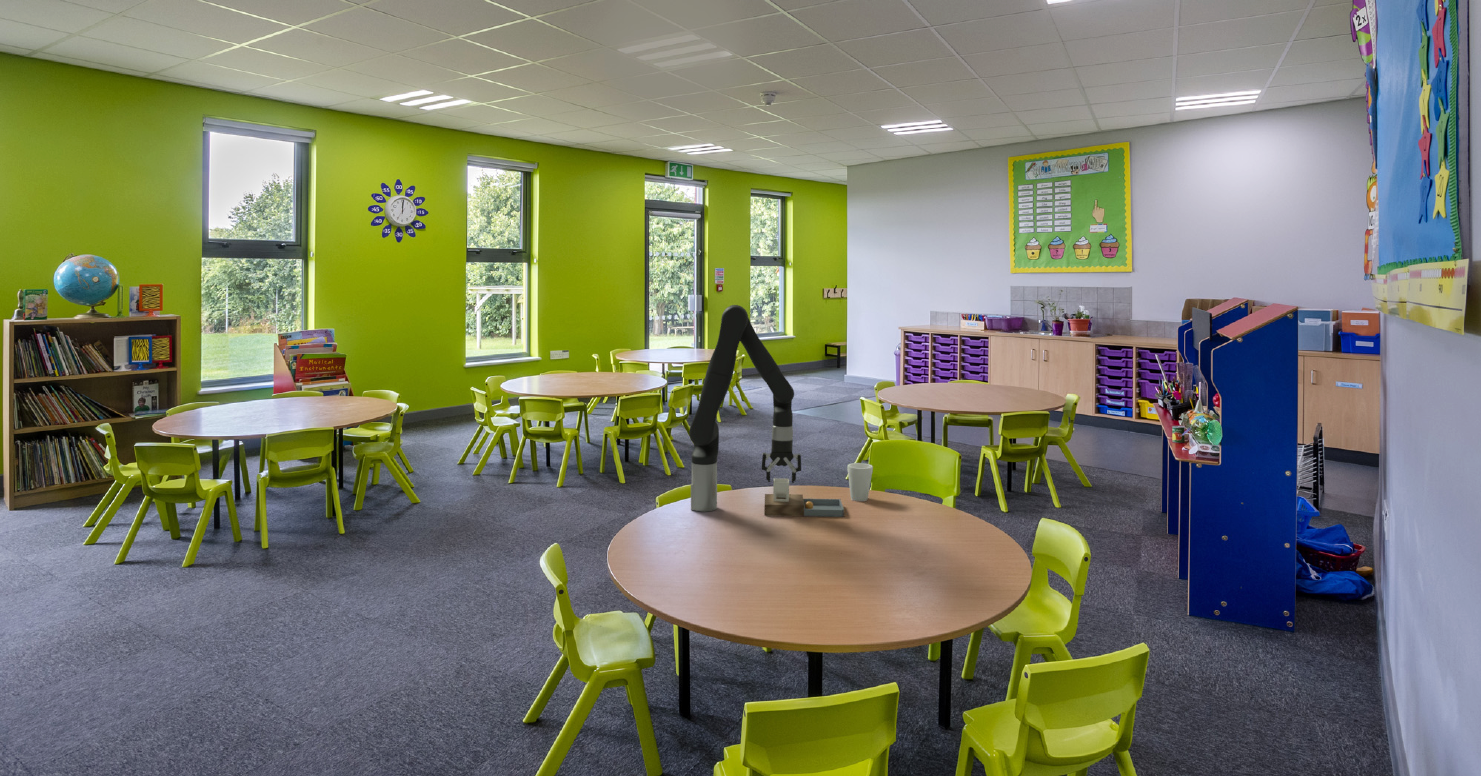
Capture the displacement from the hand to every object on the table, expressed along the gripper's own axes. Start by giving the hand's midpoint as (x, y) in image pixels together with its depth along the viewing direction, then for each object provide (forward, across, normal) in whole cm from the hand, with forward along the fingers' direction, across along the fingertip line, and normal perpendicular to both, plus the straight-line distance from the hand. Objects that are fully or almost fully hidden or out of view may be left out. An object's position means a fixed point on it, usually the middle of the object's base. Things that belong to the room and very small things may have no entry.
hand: (780, 481), depth 281 cm
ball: (+8, +10, 0) cm, 13 cm away
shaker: (+6, 0, 0) cm, 6 cm away
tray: (+10, +15, 0) cm, 18 cm away
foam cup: (+10, +30, +16) cm, 36 cm away
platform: (+10, +1, 0) cm, 10 cm away
